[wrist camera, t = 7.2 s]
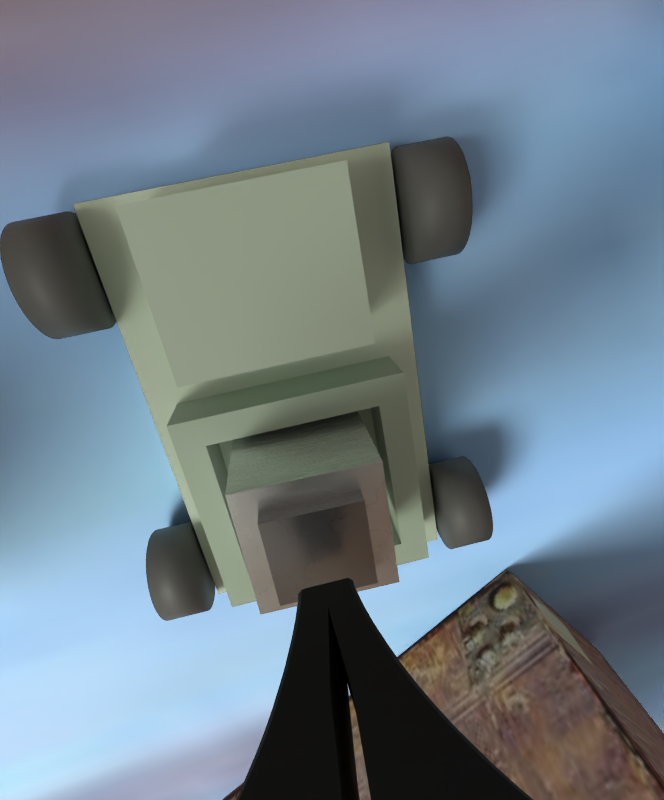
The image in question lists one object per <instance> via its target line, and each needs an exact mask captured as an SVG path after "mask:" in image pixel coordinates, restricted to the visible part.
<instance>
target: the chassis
mask: <svg viewBox="0 0 664 800" xmlns="http://www.w3.org/2000/svg"><path fill="white" fill-rule="evenodd" d="M73 206H74V209H75V211H76V214H77V215H76V214H74V213H72V212H62V213H57V214H52V215H47V216H42V217H37V218H32V219H27V220H22V221H17V222H12V223H9V224H7V225H6V226H5V227H4V229H3V231H2V234H1V238H0V254H1V261H2V266H3V269H4V273H5V276H6V279H7V282H8V284H9V287H10V289H11V292H12V294H13V296H14V298H15V300H16V301H17V303H18V305H19V307H20V308H21V310H22V311H23V313H24V314H25V316H26V317H27V318H28V319H29V321H30V322H31V323H32V324H33V325H34V326H35V327H36V328H37V329H38V330H39V331H40V332H42V333H43V334H44V335H46V336H48V337H50V338H53V339H62V338H66V337H71V336H76V335H80V334H85V333H90V332H94V331H99V330H104V329H108V328H111V327H113V326H114V324H115V323H116V321H117V324H118V326H119V329H120V332H121V334H122V337H123V340H124V342H125V345H126V348H127V350H128V353H129V356H130V358H131V361H132V364H133V366H134V369H135V372H136V374H137V377H138V380H139V382H140V385H141V388H142V391H143V393H144V396H145V399H146V401H147V404H148V407H149V409H150V412H151V415H152V417H153V420H154V423H155V425H156V428H157V431H158V433H159V436H160V439H161V441H162V444H163V447H164V449H165V452H166V455H167V457H168V460H169V463H170V465H171V468H172V471H173V473H174V476H175V479H176V481H177V484H178V487H179V489H180V492H181V495H182V497H183V500H184V503H185V505H186V508H187V511H188V513H189V516H190V519H191V522H188V523H183V524H179V525H175V526H171V527H167V528H163V529H159V530H155V531H154V532H153V533H152V535H151V536H150V539H149V542H148V546H147V553H146V574H147V582H148V588H149V592H150V596H151V600H152V603H153V605H154V608H155V610H156V612H157V613H158V615H159V616H160V617H161V618H162V619H163V620H166V621H169V620H172V619H176V618H180V617H184V616H188V615H192V614H196V613H200V612H204V611H208V610H210V609H211V607H212V605H213V601H214V596H215V586H216V588H217V591H218V594H221V593H225V592H227V594H228V597H229V599H230V602H231V605H232V607H234V606H238V605H242V604H246V603H250V602H254V601H257V600H256V597H255V594H254V590H253V587H252V584H251V580H250V577H249V574H248V570H247V567H246V564H245V560H244V557H243V553H242V550H241V547H240V543H239V540H238V537H237V533H236V530H235V527H234V523H233V520H232V517H231V513H230V510H229V507H228V503H227V500H226V497H225V492H226V485H227V478H228V470H229V463H230V456H231V448H232V441H233V440H234V439H239V438H243V437H247V436H252V435H256V434H260V433H265V432H269V431H273V430H277V429H282V428H286V427H290V426H295V425H299V424H303V423H308V422H312V421H316V420H321V419H325V418H329V417H334V416H338V415H342V414H347V413H351V412H355V411H358V413H359V415H360V417H361V419H362V421H363V423H364V425H365V427H366V429H367V431H368V433H369V435H370V437H371V439H372V441H373V443H374V445H375V447H376V449H377V451H378V453H379V455H380V457H381V459H382V461H383V468H384V475H385V482H386V489H387V497H388V504H389V511H390V518H391V526H392V533H393V540H394V548H395V555H396V562H397V565H401V564H405V563H409V562H412V561H416V560H420V559H424V558H428V557H429V556H428V548H427V542H428V541H432V540H436V539H438V538H437V531H438V533H439V535H440V537H441V539H442V541H443V542H444V544H445V545H446V546H447V547H448V548H449V549H454V548H458V547H462V546H466V545H470V544H474V543H477V542H481V541H485V540H489V539H490V538H491V536H492V532H493V521H492V513H491V508H490V504H489V500H488V497H487V493H486V490H485V488H484V485H483V483H482V480H481V478H480V476H479V474H478V472H477V470H476V469H475V467H474V466H473V464H472V463H471V462H470V461H469V460H468V459H467V458H466V457H463V456H462V457H458V458H454V459H450V460H446V461H441V462H437V463H433V464H428V456H427V448H426V440H425V432H424V423H423V415H422V407H421V399H420V391H419V382H418V374H417V366H416V358H415V349H414V341H413V333H412V325H411V317H410V308H409V300H408V292H407V284H406V276H405V267H404V260H405V261H406V262H407V263H409V264H413V263H418V262H423V261H427V260H432V259H437V258H441V257H446V256H451V255H456V254H459V253H460V252H461V251H462V250H463V249H464V247H465V246H466V244H467V241H468V238H469V235H470V230H471V223H472V206H473V204H472V188H471V181H470V175H469V170H468V166H467V163H466V160H465V157H464V154H463V152H462V150H461V148H460V146H459V145H458V143H457V142H456V141H455V140H454V139H453V138H451V137H443V138H438V139H432V140H427V141H422V142H417V143H412V144H407V145H402V146H397V147H395V148H394V149H393V150H392V152H390V144H389V142H386V143H381V144H376V145H371V146H366V147H360V148H355V149H350V150H345V151H340V152H335V153H330V154H325V155H320V156H315V157H310V158H304V159H299V160H294V161H289V162H284V163H279V164H274V165H269V166H264V167H259V168H254V169H248V170H243V171H238V172H233V173H228V174H223V175H218V176H213V177H208V178H203V179H198V180H192V181H187V182H182V183H177V184H172V185H167V186H162V187H157V188H152V189H147V190H142V191H136V192H131V193H126V194H121V195H116V196H111V197H106V198H101V199H96V200H91V201H85V202H80V203H75V204H73ZM436 528H437V530H436Z"/></svg>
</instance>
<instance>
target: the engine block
mask: <svg viewBox="0 0 664 800" xmlns="http://www.w3.org/2000/svg"><path fill="white" fill-rule="evenodd" d="M225 497H226V500H227V503H228V507H229V510H230V513H231V517H232V520H233V523H234V527H235V530H236V533H237V537H238V540H239V543H240V547H241V550H242V553H243V557H244V560H245V564H246V567H247V570H248V574H249V577H250V580H251V584H252V587H253V590H254V594H255V597H256V600H257V604H258V607H259V610H260V614H264V613H269V612H273V611H277V610H282V609H286V608H290V607H294V606H297V605H298V594H299V592H300V591H301V590H302V589H305V588H309V587H313V586H317V585H321V584H325V583H329V582H333V581H337V580H341V579H345V578H350V579H351V580H353V582H354V585H355V588H356V590H357V592H358V591H362V590H367V589H371V588H375V587H379V586H384V585H388V584H392V583H396V582H399V577H398V569H397V562H396V555H395V548H394V540H393V533H392V526H391V518H390V511H389V504H388V497H387V489H386V482H385V475H384V468H383V461H382V459H381V457H380V455H379V453H378V451H377V449H376V447H375V445H374V443H373V441H372V439H371V437H370V435H369V433H368V431H367V429H366V427H365V425H364V423H363V421H362V419H361V417H360V415H359V413H358V411H355V412H351V413H347V414H342V415H338V416H334V417H329V418H325V419H321V420H316V421H312V422H308V423H303V424H299V425H295V426H290V427H286V428H282V429H277V430H273V431H269V432H265V433H260V434H256V435H252V436H247V437H243V438H239V439H234V440H233V441H232V448H231V456H230V463H229V470H228V478H227V485H226V492H225Z"/></svg>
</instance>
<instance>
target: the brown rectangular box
mask: <svg viewBox="0 0 664 800" xmlns="http://www.w3.org/2000/svg"><path fill="white" fill-rule="evenodd" d="M398 660H399V661H400V662H401V663H402V665H403V666H404V667H405V669H406V670H407V671H408V673H409V674H410V675H411V677H412V678H413V679H414V680H415V682H416V683H417V684H418V685H419V686H420V688H421V689H422V690H423V691H424V692H425V694H426V695H427V696H428V697H429V698H430V699H431V701H432V702H433V703H434V704H435V705H436V706H437V707H438V709H439V710H440V711H441V712H442V713H443V714H444V715H445V716H446V717H447V718H448V719H449V720H450V722H451V723H452V724H453V725H454V726H455V727H456V728H457V729H458V730H459V731H460V732H461V733H462V734H463V735H464V736H465V737H466V738H467V739H468V740H469V741H470V742H471V743H472V744H473V745H474V746H475V747H476V748H477V749H478V750H479V751H480V752H481V753H482V754H483V755H484V756H485V757H486V758H487V759H488V760H489V761H490V762H491V763H493V764H494V765H495V766H496V767H497V768H498V769H499V770H500V771H501V772H503V773H504V774H505V775H506V776H507V777H508V778H509V779H510V780H511V781H512V782H514V783H515V784H516V785H517V786H518V787H519V788H520V789H522V790H523V791H524V792H525V793H526V794H527V795H529V796H530V797H531V798H532V799H533V800H664V733H663V732H662V731H661V730H660V728H659V727H658V726H657V724H656V723H655V722H654V721H653V719H652V718H651V717H650V716H649V714H648V713H647V712H646V710H645V709H644V708H643V707H642V705H641V704H640V703H639V702H638V700H637V699H636V698H635V696H634V695H633V694H632V693H631V691H630V690H629V689H628V688H627V686H626V685H625V684H624V682H623V681H622V680H621V679H620V677H619V676H618V675H617V674H616V672H615V671H614V670H613V668H612V667H611V666H610V665H609V663H608V662H607V661H606V660H605V658H604V657H603V656H602V654H601V653H600V652H599V651H598V650H597V649H596V648H595V647H594V646H593V645H592V644H591V643H589V642H588V641H587V640H586V639H585V638H584V637H583V636H582V635H580V634H579V633H578V632H577V631H576V630H575V629H574V628H573V627H572V626H570V625H569V624H568V623H567V622H566V621H565V620H564V619H563V618H561V617H560V616H559V615H558V614H557V613H556V612H555V611H554V610H553V609H551V608H550V607H549V606H548V605H547V604H546V603H545V602H544V601H542V600H541V599H540V598H539V597H538V596H537V595H536V594H535V593H533V592H532V591H531V590H530V589H529V588H528V587H527V586H526V585H525V584H523V583H522V582H521V581H520V580H519V579H518V578H517V577H516V576H514V575H513V574H512V573H511V572H509V571H507V570H505V571H504V572H503V573H501V574H500V575H499V576H498V577H497V578H495V579H494V580H493V581H492V582H490V583H489V584H488V585H487V586H485V587H484V588H483V589H482V590H480V591H479V592H478V593H477V594H476V595H474V596H473V597H472V598H471V599H469V600H468V601H467V602H466V603H464V604H463V605H462V606H461V607H460V608H458V609H457V610H456V611H455V612H453V613H452V614H451V615H450V616H448V617H447V618H446V619H445V620H443V621H442V622H441V623H440V624H439V625H437V626H436V627H435V628H434V629H432V630H431V631H430V632H429V633H427V634H426V635H425V636H424V637H422V638H421V639H420V640H419V641H418V642H416V643H415V644H414V645H413V646H411V647H410V648H409V649H408V650H406V651H405V652H404V653H403V654H402V655H400V656H399V657H398ZM349 704H350V714H351V724H352V733H353V743H354V753H355V763H356V773H357V783H358V790H359V798H360V800H371V797H370V791H369V785H368V779H367V773H366V767H365V762H364V756H363V750H362V744H361V738H360V733H359V727H358V721H357V716H356V712H355V708H354V705H353V701H352V697H351V696H350V697H349ZM242 786H243V783H242V784H241V785H240V786H239V787H237V788H236V789H235V790H234V791H232V792H231V793H230V794H229V795H228V796H226V797H225V798H224V799H223V800H236V799H237V797H238V795H239V793H240V790H241V788H242Z"/></svg>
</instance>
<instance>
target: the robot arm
mask: <svg viewBox="0 0 664 800" xmlns="http://www.w3.org/2000/svg"><path fill="white" fill-rule="evenodd" d="M347 683H348V685H347ZM348 687H349V690H350V694H351V697H352V701H353V705H354V708H355V712H356V716H357V721H358V727H359V733H360V738H361V744H362V750H363V756H364V762H365V767H366V773H367V779H368V785H369V791H370V797H371V800H533V799H532V798H531V797H530V796H529V795H527V794H526V793H525V792H524V791H523V790H522V789H520V788H519V787H518V786H517V785H516V784H515V783H514V782H512V781H511V780H510V779H509V778H508V777H507V776H506V775H505V774H504V773H503V772H501V771H500V770H499V769H498V768H497V767H496V766H495V765H494V764H493V763H491V762H490V761H489V760H488V759H487V758H486V757H485V756H484V755H483V754H482V753H481V752H480V751H479V750H478V749H477V748H476V747H475V746H474V745H473V744H472V743H471V742H470V741H469V740H468V739H467V738H466V737H465V736H464V735H463V734H462V733H461V732H460V731H459V730H458V729H457V728H456V727H455V726H454V725H453V724H452V723H451V722H450V720H449V719H448V718H447V717H446V716H445V715H444V714H443V713H442V712H441V711H440V710H439V709H438V707H437V706H436V705H435V704H434V703H433V702H432V701H431V699H430V698H429V697H428V696H427V695H426V694H425V692H424V691H423V690H422V689H421V688H420V686H419V685H418V684H417V683H416V682H415V680H414V679H413V678H412V677H411V675H410V674H409V673H408V671H407V670H406V669H405V667H404V666H403V665H402V663H401V662H400V661H399V660H398V658H397V657H396V655H395V654H394V653H393V651H392V650H391V648H390V647H389V646H388V644H387V643H386V641H385V640H384V638H383V637H382V635H381V633H380V632H379V630H378V629H377V627H376V626H375V624H374V623H373V621H372V619H371V618H370V616H369V614H368V612H367V611H366V609H365V607H364V605H363V603H362V601H361V599H360V597H359V595H358V593H357V590H356V588H355V585H354V582H353V580H351V579H350V578H345V579H341V580H337V581H333V582H329V583H325V584H321V585H317V586H313V587H309V588H305V589H302V590H301V591H300V592H299V594H298V605H297V613H296V620H295V625H294V630H293V635H292V640H291V644H290V649H289V653H288V657H287V661H286V665H285V669H284V673H283V676H282V679H281V683H280V686H279V689H278V693H277V696H276V699H275V702H274V706H273V709H272V712H271V715H270V718H269V720H268V723H267V726H266V729H265V732H264V734H263V737H262V740H261V742H260V745H259V747H258V750H257V753H256V755H255V758H254V760H253V762H252V765H251V767H250V769H249V772H248V774H247V776H246V779H245V781H244V783H243V786H242V788H241V790H240V793H239V795H238V797H237V799H236V800H360V798H359V790H358V783H357V773H356V763H355V753H354V743H353V733H352V724H351V714H350V704H349V694H348Z"/></svg>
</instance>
